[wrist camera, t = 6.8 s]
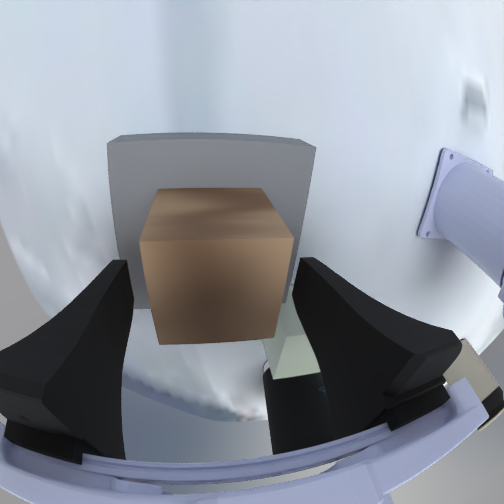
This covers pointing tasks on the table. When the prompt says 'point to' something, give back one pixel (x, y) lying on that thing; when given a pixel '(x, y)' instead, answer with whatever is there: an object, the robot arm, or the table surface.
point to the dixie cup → (297, 411)
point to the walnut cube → (214, 264)
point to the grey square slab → (202, 181)
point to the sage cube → (290, 345)
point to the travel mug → (477, 381)
